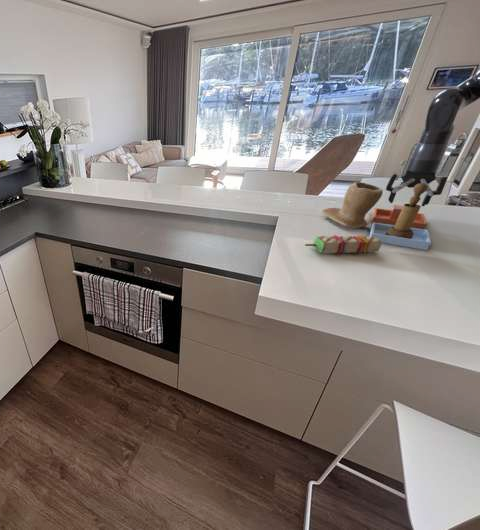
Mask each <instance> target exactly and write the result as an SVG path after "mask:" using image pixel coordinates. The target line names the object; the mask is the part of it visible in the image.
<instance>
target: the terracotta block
mask: <svg viewBox="0 0 480 530" xmlns="http://www.w3.org/2000/svg"><path fill="white" fill-rule="evenodd" d="M403 206H404V205H399V204H393V206H392V208H391V209H390V210H391V212H390V215H389V217H388V219H396V220H398V217H399V215H400V213H401V210H402V208H403Z"/></svg>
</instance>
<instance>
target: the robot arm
mask: <svg viewBox="0 0 480 530" xmlns="http://www.w3.org/2000/svg"><path fill="white" fill-rule="evenodd" d="M479 99H480V69H479V70H477V71H476V72H475V73H474V75H472V76H470V77H469V78H467V79H466V80H464V81H463V82H461V83H459V84H458V85H456V86H454V87H449V88H446V89H444V90H442V91H440V92H439V93H437V94H436V95H435V96H434V97H433V99H432V100H431V102H430V104H429V106H428V109H427V113H426V117H425V120H424V121H425V123H424V128H423V130H422V131H421V135H420V136H419V139H418V142H417V144H416V146H415V148H414V150H413V152H412V153H411V156H410V159H409V161H408V164H407V167H406V170H404V173H397V172H393V173H392V174H391V176H390V178H389V181H388V182H387V185H386V187H385V191H388V192H390V193H389V196H388V202H389V204H393V202H394V201H395V197H396V196H397V193H398V191H401V190H402V189H404V188H405V187H407V188H411V189H412V188H413V189H414V186H415V185H417V184H419V183H424V184H427V186H428V188H427V190H426V191H425V192H426V194H425V195H424V198H423V199H422V202H421V205H420V206H421V207H425V206H427V205H429V203H430V201H431V199H432V197H433V196H440V195H442V193H443V191H444V189H445V187H446V184H447V180H448V177H447V176H446V175H436V174H437V171H438V169H439V167H440V166H441V162H442V161H443V158H444V157H445V153H446V151H447V148H448V145H449V143H450V140H451V138H452V136H453V134H454V132H455V128H456V124H455V120H456V117H457V115H458V112H459V111H460V110H463V109H464V108H466V107H468V106H469V105H471V104H473V103H474V102H476V101H479ZM399 179H401V180H402V181H401V182H400V183H398V184H397V185H395V186H394V187H393V185H394V183H395V181H398V180H399ZM435 180H436V183H437V184H438V185H437V186H436V188H435V189H436V190H435V189H434V190H432V188H431V187H430V186H431V185H430V184H431V183H432V182H434V181H435Z"/></svg>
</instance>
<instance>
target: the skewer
mask: <svg viewBox="0 0 480 530" xmlns="http://www.w3.org/2000/svg"><path fill="white" fill-rule="evenodd" d="M382 244H383V243H382V241H380V240H379V239H377V238H376V237H374V236H370V235H344V236H343V235H342V236H341V235H340V236H339V235H336V234H335V235H333V236H332V235H330V236H329V235H328V236H327V235H319V236H318V235H317V236H315V237H314V240H313V242H312V243H305V244H304V246H305V247H312V248H314V249H315V250H317V251H318V252H319V253H322V254H344V253H347V254H350V253H353V254H354V253H357V254H359V253H374V252H375V253H377V252H379V251H380V249H381V247H382Z"/></svg>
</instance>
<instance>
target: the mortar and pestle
mask: <svg viewBox="0 0 480 530" xmlns="http://www.w3.org/2000/svg"><path fill="white" fill-rule="evenodd" d="M427 188H428V186H427V184H424V183H419V184H417V185H415V186H414V187H413V196H411V197H410V199H409V203H404V204H403V205H402V206H403V208H402V210H401V213H400V215H399V217H398V220H397V222H396V224H395V226H393V227H390V228H388V230H387V232H386V234H385V235H388V236H395V237H401V238H407V239H412V237H413V235H414V232H413V231H412V230H411V229H410V228H411V226H412V224H413V222H414V220H415V218H416V216H417V213H419V211H420V209H421V208H422V206H421V205H420V204H418V203H419V202H420V201H421V196H422V194H424V193H425V192H426V190H427Z"/></svg>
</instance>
